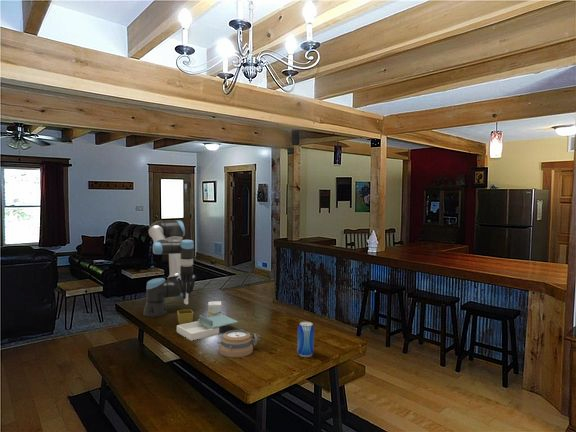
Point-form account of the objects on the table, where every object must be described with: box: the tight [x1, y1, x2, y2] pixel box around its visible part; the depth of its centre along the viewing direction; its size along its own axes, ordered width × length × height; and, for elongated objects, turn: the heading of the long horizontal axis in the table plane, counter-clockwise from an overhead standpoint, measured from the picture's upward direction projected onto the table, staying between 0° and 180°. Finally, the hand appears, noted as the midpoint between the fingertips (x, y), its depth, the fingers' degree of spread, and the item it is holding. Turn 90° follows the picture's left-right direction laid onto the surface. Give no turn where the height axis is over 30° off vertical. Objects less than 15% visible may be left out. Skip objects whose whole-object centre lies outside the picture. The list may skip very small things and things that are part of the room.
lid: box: [197, 313, 239, 328], centre depth 232 cm, size 18×17×4 cm
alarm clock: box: [217, 329, 261, 358], centre depth 201 cm, size 17×9×23 cm
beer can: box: [296, 321, 315, 358], centre depth 196 cm, size 8×8×16 cm
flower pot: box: [176, 308, 194, 325], centre depth 236 cm, size 9×9×9 cm
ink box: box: [207, 300, 222, 317], centre depth 247 cm, size 9×8×12 cm
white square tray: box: [176, 320, 220, 342], centre depth 224 cm, size 18×18×4 cm
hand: (186, 303), depth 235 cm, fingers closed
